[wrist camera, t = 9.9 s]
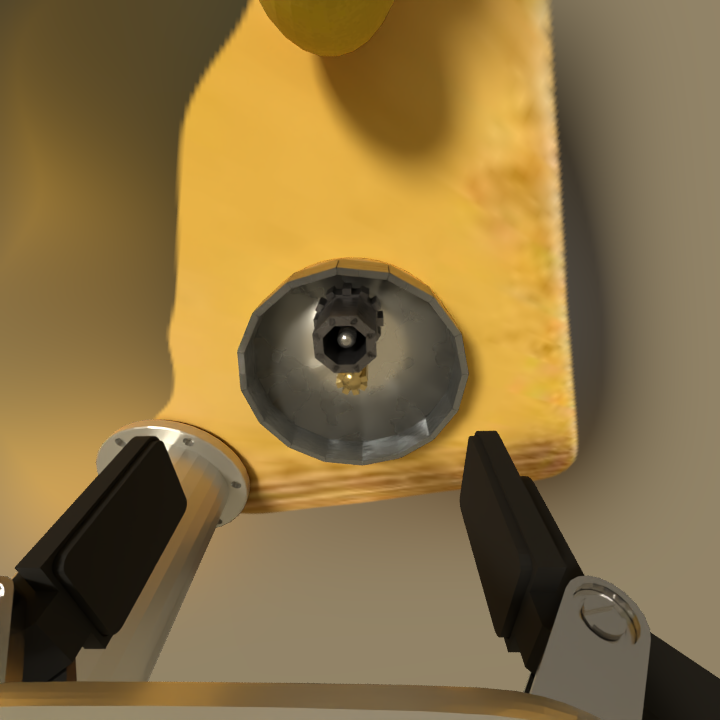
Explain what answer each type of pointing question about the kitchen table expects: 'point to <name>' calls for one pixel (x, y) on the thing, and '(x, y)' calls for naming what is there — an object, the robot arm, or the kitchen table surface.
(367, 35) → the lemon
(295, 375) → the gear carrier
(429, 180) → the kitchen table surface
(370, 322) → the gear
